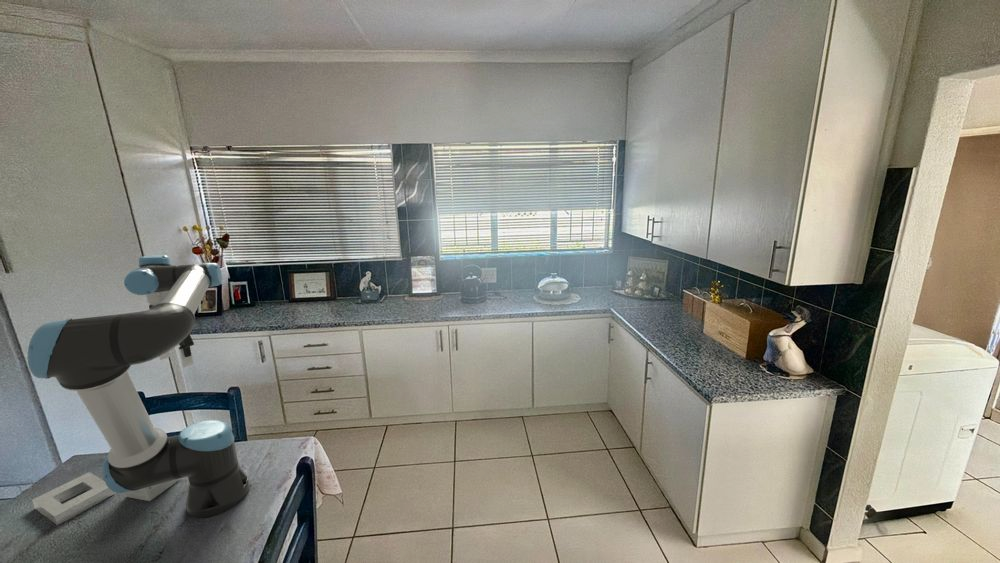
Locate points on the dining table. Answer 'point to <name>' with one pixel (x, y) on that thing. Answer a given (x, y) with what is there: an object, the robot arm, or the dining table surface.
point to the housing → (60, 512)
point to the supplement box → (150, 491)
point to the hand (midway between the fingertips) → (176, 361)
